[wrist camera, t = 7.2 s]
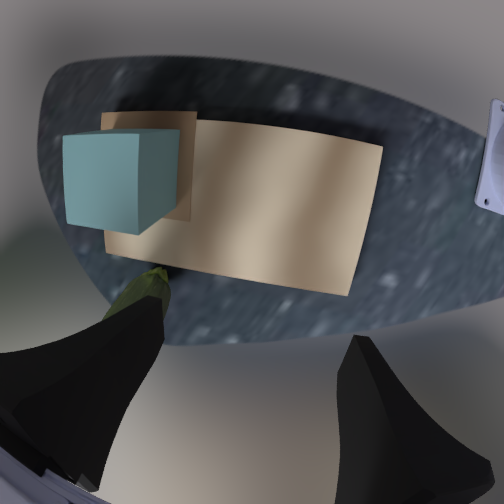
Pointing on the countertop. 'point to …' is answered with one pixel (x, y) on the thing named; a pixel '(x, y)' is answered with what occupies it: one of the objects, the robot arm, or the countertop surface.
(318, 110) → the countertop surface
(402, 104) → the countertop surface
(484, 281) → the countertop surface
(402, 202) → the countertop surface
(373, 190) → the maple board
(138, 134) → the teal block
